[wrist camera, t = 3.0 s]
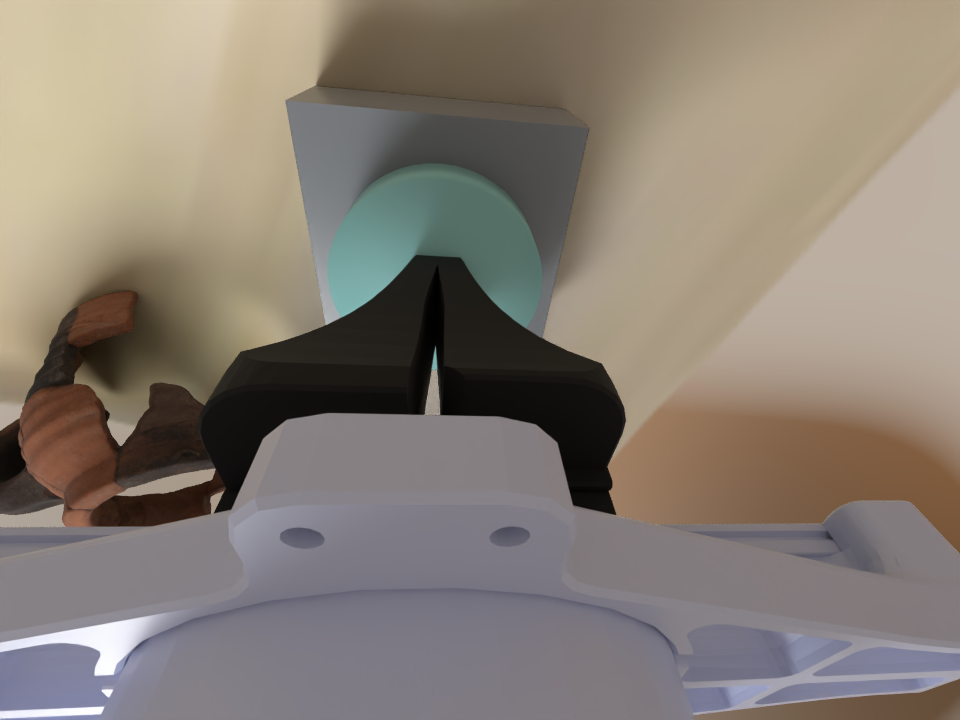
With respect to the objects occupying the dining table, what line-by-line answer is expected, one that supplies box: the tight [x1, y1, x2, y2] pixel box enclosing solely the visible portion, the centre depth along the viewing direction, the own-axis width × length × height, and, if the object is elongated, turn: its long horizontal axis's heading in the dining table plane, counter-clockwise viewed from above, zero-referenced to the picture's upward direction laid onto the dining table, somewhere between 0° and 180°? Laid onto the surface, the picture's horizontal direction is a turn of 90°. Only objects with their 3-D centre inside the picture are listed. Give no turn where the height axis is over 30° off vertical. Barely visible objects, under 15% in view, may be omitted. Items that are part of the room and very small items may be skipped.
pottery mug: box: [0, 291, 226, 527], centre depth 19 cm, size 12×9×8 cm
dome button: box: [327, 163, 542, 370], centre depth 13 cm, size 6×6×4 cm
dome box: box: [286, 86, 589, 338], centre depth 15 cm, size 8×8×3 cm
